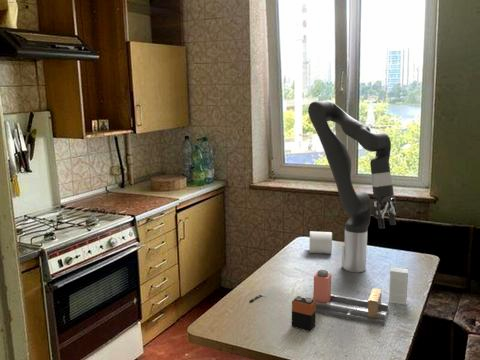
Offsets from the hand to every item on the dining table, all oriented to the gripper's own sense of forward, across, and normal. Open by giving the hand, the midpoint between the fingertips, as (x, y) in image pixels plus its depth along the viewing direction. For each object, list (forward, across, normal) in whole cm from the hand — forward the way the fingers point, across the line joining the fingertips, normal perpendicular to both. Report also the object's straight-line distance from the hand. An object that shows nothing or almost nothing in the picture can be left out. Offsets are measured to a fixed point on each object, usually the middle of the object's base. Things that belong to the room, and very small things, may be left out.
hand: (387, 226), depth 179 cm
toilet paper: (+14, -13, -44) cm, 48 cm away
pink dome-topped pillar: (+22, +31, -11) cm, 40 cm away
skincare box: (+26, +9, +5) cm, 28 cm away
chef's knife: (+20, +38, -32) cm, 53 cm away
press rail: (+25, +28, -3) cm, 38 cm away
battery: (+26, +47, -7) cm, 54 cm away
